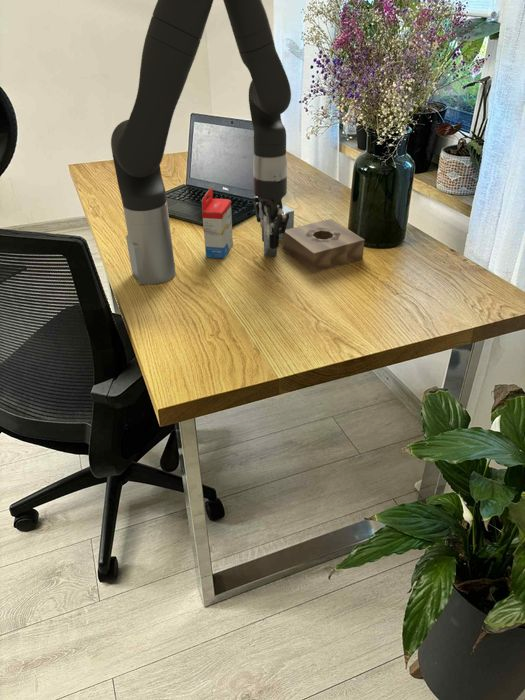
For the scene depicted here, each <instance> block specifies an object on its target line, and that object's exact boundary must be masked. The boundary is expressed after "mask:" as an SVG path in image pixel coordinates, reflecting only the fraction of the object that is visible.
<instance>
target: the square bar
mask: <svg viewBox="0 0 525 700" xmlns="http://www.w3.org/2000/svg"><path fill="white" fill-rule="evenodd" d="M282 206H283V205H282ZM282 210H283V212H284V213H288V214H289V219H288V223H287V226H286V229H290V228H295V223H294V222H295V221H294V220H295V219H294V218H295V210H293V208H291V207H290V206H287V205H284V206H283V209H282ZM280 240H281V241H282V240H283V234H279V241H280Z"/></svg>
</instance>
